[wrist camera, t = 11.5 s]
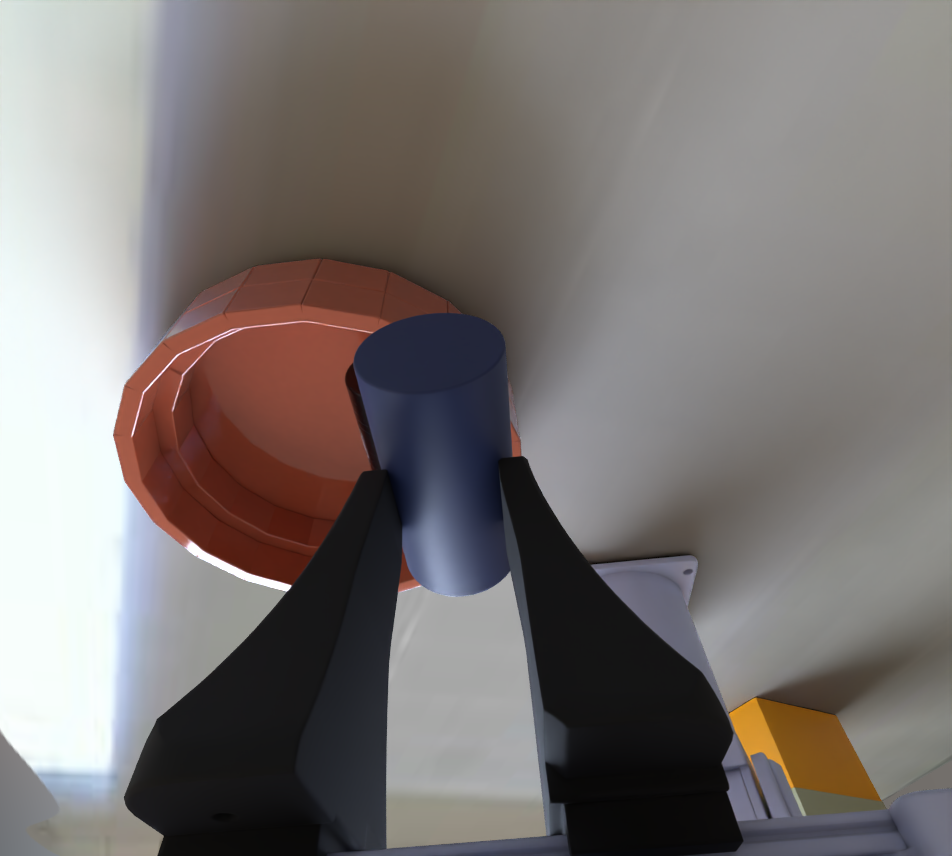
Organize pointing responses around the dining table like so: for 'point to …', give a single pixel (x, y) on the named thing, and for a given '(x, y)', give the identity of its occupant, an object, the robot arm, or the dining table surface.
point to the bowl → (261, 413)
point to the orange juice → (807, 756)
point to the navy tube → (442, 443)
